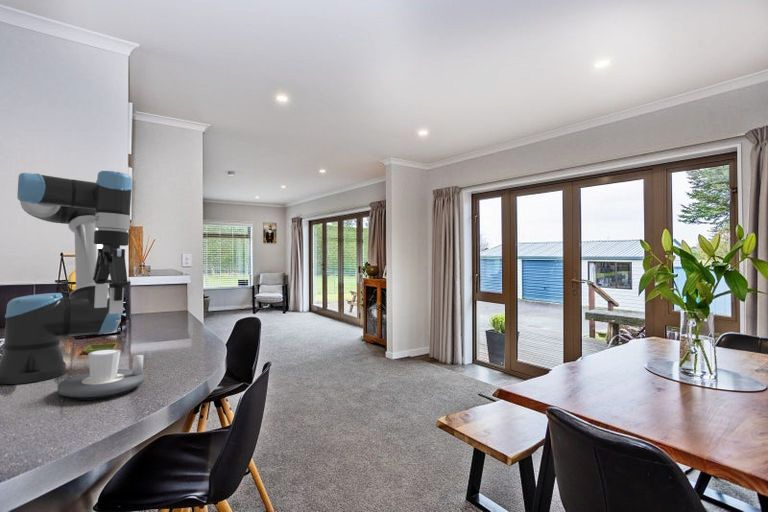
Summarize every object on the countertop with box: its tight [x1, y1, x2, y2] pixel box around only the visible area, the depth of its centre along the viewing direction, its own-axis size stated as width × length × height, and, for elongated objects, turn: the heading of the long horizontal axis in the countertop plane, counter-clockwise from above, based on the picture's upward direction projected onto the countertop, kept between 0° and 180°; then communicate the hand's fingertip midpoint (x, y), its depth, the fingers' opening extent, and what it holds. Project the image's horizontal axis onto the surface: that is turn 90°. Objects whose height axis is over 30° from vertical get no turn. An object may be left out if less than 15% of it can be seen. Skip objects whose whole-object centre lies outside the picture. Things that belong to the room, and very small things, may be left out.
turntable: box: [57, 354, 145, 398], centre depth 98 cm, size 18×18×6 cm
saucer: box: [83, 343, 118, 355], centre depth 137 cm, size 9×9×2 cm
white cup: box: [88, 348, 122, 382], centre depth 98 cm, size 7×7×7 cm
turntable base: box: [71, 389, 132, 401], centre depth 98 cm, size 13×13×1 cm
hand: (107, 310), depth 99 cm, fingers open, 13 cm apart
